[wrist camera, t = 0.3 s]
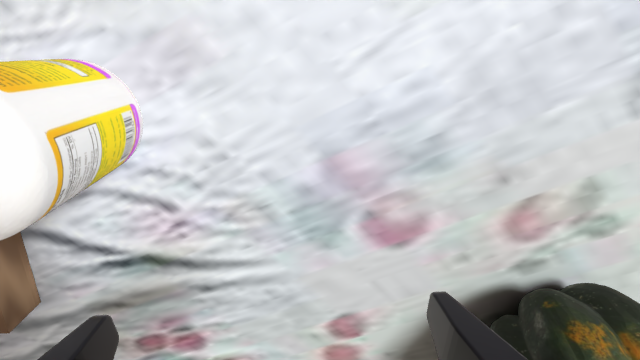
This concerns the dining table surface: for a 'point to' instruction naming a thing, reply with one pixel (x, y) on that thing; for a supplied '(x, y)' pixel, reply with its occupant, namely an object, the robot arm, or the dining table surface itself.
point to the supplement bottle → (59, 134)
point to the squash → (574, 324)
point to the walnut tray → (15, 284)
